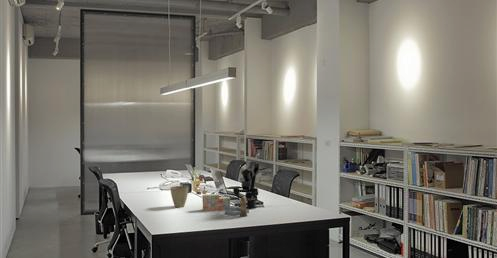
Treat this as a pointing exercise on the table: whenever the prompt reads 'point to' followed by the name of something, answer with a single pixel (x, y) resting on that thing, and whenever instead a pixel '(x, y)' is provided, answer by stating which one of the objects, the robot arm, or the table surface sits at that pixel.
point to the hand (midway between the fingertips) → (244, 200)
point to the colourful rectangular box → (215, 202)
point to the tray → (235, 211)
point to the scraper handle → (243, 207)
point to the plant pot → (179, 195)
